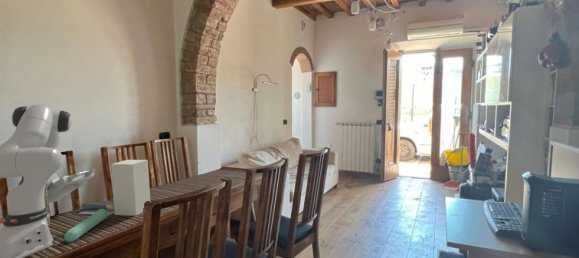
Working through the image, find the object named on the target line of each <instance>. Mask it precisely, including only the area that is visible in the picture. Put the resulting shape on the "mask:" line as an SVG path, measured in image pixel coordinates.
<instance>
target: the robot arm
mask: <svg viewBox="0 0 579 258" xmlns="http://www.w3.org/2000/svg"><path fill="white" fill-rule="evenodd" d="M11 121H12V125H13V126H14V127H15V130H14V132H13V134H12V135H11V136H10V138H8V139H7V140H6V141H5V142H3V143H2V144H0V179H7V178H19V177H21V179H20V181H19V182H18V184H17V186H16V187H14V188H12V189H10V190H8V192H7V195H6V197H5V199H6V207H7V214H6V215H5V217H0V224H3V226H2V227H1V228H0V258H25V257H29V256H30V255H32V254H35V253H37V252H40V251H42V250H45V249H47V248H49V247H51V246H53V241H54V238H53V236H52V234H51V231H50V228H49V226H48V224H47V219H46V216H47V209H46V207H45V201H44V190H45V185H46V183H47V190H48V201H49V204H51V203H56V202H57V201H59V200H61V199H63V198H64V197H65V196H66V195H69V194H70V193H72V192H73V191H76V190H77V189H78V188H80V187H82V186H84V185H85V184H86V183H87V182H89V180H91V179H92V178H93V177H95V175H96V174H95V169H94V168H90V169H89V170H85V171H82V172H75V173H74V174H71V175H64V176H63V177H60V176H59V174H58V173H57V172H58V171H59V170H60V169H61V168H62V166H63V162H64V158H63V157H64V156H63V154H62V153H61V151H60V150H58V147H59V144H60V140H61V133H65V132H67V131H69V130H70V128H71V127H72V124H73V117H72V116H71V114H70V113H69V112H68V111H65V110H57V109H52V108H50V107H48V106H47V105H46V106H45V105H43V104H33V105H30V106H24V105H23V106H17V108H15V109H14V110H13V112H12V115H11Z"/></svg>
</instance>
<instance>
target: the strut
mask: <svg viewBox="0 0 579 258" xmlns="http://www.w3.org/2000/svg"><path fill="white" fill-rule="evenodd" d="M81 208H82V209H81V210H82V211H85V210H99V209H105V210H107V211H114V202H89V201H88V202H84V203H81Z"/></svg>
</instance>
